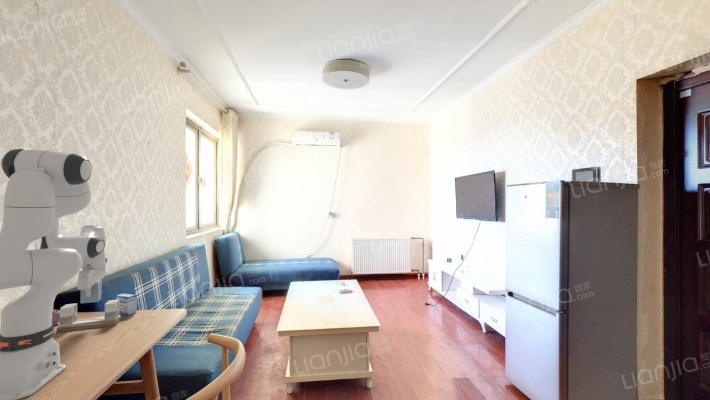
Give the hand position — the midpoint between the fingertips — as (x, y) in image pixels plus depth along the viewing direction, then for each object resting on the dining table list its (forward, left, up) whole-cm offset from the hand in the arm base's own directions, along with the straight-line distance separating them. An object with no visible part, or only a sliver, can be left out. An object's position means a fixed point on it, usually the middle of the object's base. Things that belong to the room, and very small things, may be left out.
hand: (91, 294), depth 136 cm
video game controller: (+8, +17, -14) cm, 23 cm away
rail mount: (0, 0, -13) cm, 13 cm away
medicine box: (+12, -10, -14) cm, 21 cm away
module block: (0, 0, -3) cm, 3 cm away
